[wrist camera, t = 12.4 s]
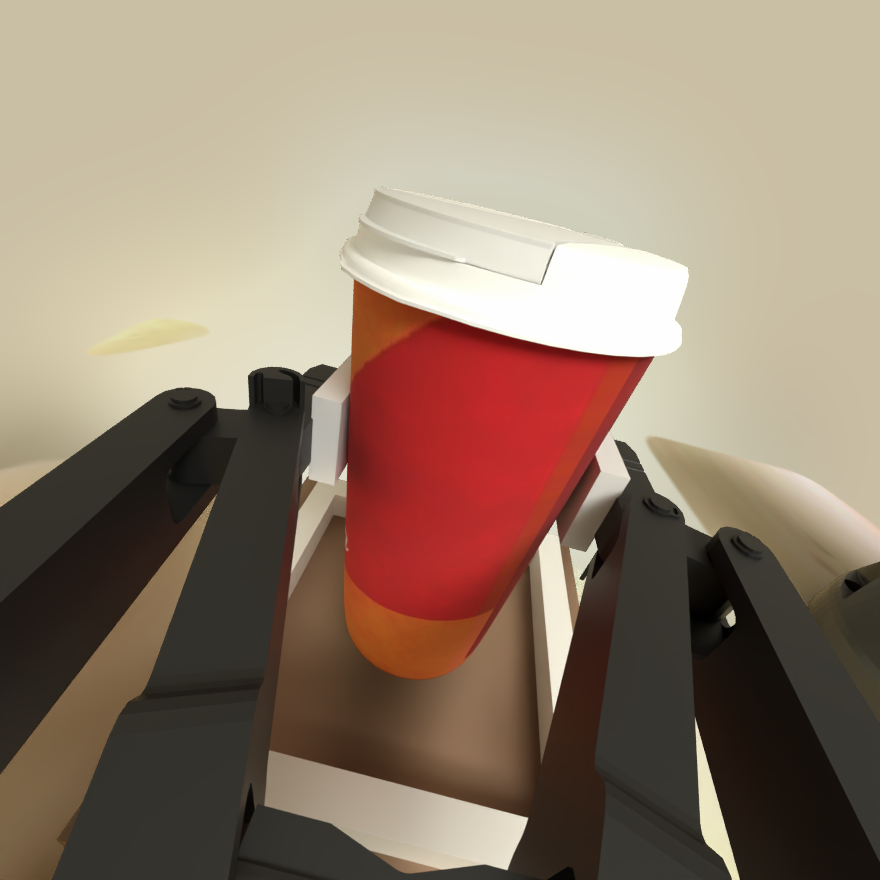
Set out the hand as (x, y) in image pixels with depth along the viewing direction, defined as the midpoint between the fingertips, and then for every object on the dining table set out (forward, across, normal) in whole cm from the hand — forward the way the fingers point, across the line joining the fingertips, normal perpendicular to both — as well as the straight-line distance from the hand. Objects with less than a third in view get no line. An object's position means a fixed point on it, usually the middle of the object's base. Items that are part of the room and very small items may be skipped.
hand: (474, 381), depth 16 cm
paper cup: (-5, 0, -8) cm, 10 cm away
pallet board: (-5, 0, -12) cm, 13 cm away
